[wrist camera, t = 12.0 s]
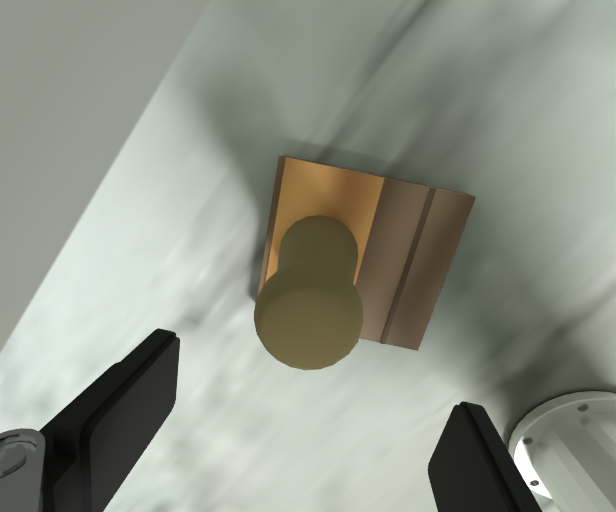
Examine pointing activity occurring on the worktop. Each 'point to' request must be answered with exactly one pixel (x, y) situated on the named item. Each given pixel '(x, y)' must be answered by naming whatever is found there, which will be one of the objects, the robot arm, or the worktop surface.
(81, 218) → the worktop surface
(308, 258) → the cork
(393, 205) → the board
